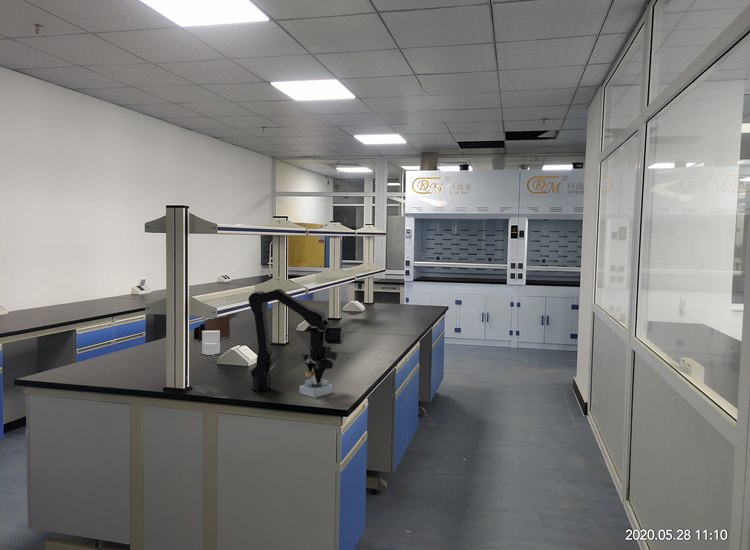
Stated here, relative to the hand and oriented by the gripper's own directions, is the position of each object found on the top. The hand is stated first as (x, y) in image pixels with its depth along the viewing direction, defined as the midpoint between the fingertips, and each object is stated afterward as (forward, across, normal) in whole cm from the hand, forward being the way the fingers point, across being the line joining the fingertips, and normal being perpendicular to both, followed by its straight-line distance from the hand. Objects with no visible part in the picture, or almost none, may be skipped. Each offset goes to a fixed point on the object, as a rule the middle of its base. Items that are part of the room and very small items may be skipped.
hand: (316, 382), depth 209 cm
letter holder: (+5, +131, +12) cm, 132 cm away
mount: (+4, +12, -5) cm, 14 cm away
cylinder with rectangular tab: (+5, +91, +21) cm, 93 cm away
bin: (+4, 0, 0) cm, 4 cm away
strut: (+2, 0, +1) cm, 2 cm away
